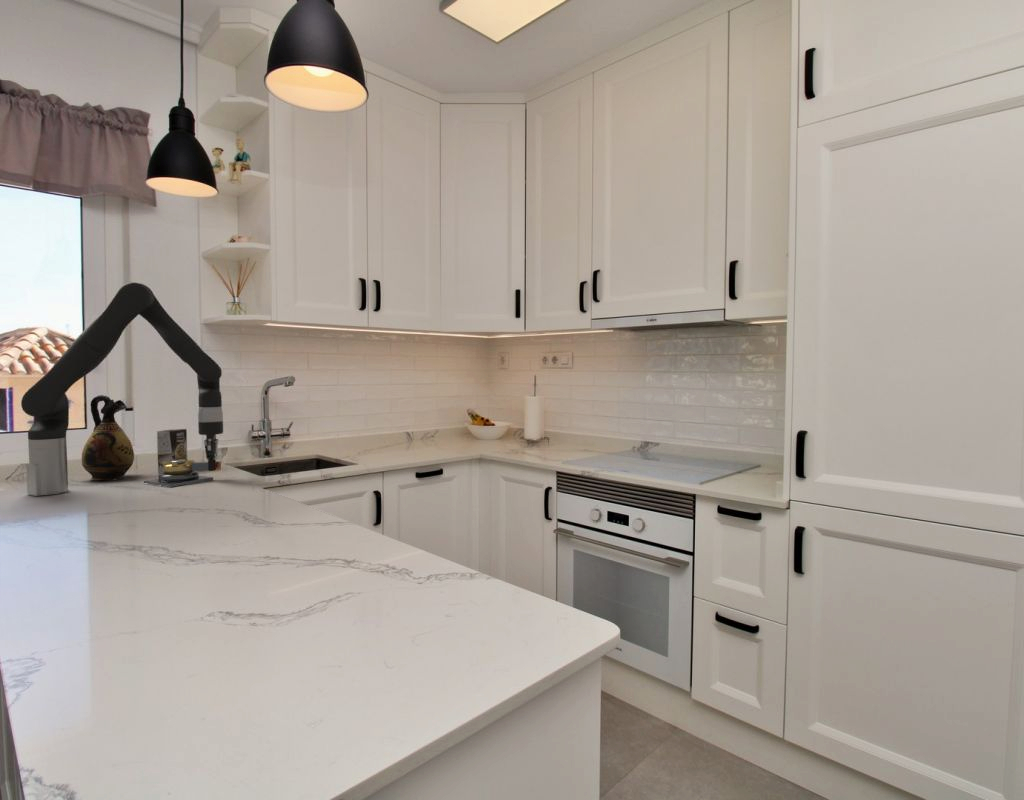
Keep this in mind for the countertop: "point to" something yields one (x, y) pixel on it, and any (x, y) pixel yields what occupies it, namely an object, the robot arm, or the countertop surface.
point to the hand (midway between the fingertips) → (212, 470)
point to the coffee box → (171, 446)
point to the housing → (178, 478)
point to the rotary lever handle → (186, 467)
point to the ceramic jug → (107, 443)
